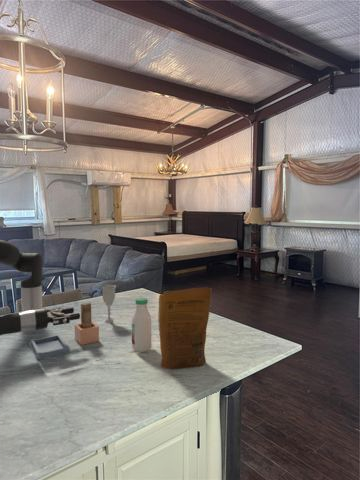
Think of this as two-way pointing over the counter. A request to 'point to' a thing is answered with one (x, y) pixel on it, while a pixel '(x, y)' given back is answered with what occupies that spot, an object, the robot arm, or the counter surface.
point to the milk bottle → (141, 327)
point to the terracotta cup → (86, 334)
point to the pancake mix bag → (183, 327)
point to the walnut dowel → (86, 315)
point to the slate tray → (49, 346)
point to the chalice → (108, 299)
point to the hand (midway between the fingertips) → (76, 312)
